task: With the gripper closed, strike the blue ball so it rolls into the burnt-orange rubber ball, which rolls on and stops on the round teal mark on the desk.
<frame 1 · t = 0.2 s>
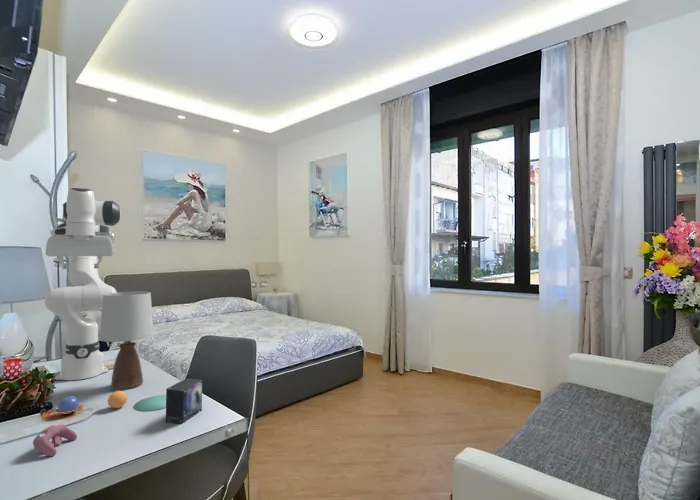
hand: (80, 268, 137), 47 cm above the table, tool pointing down, fingers open, 8 cm apart
lamp: (127, 385, 149), on the table
video game controller: (55, 449, 100), on the table
blue ball: (68, 405, 122), on the table
object ball: (117, 399, 127), on the table
small box: (184, 416, 120), on the table
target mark: (156, 402, 131), on the table
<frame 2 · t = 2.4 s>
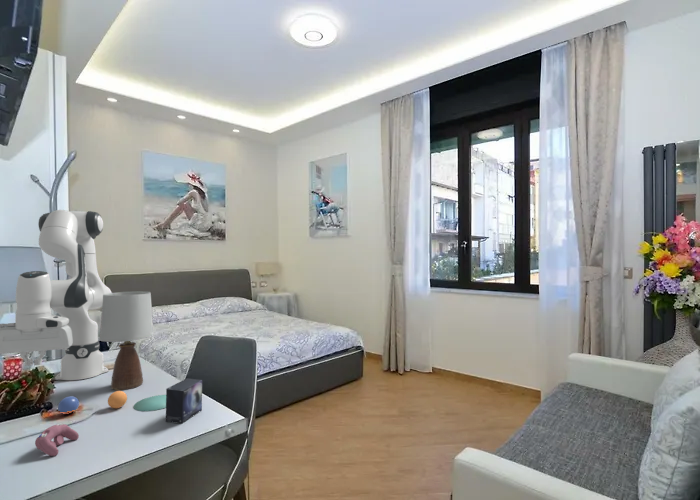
hand: (33, 364, 119), 17 cm above the table, tool pointing down, fingers closed
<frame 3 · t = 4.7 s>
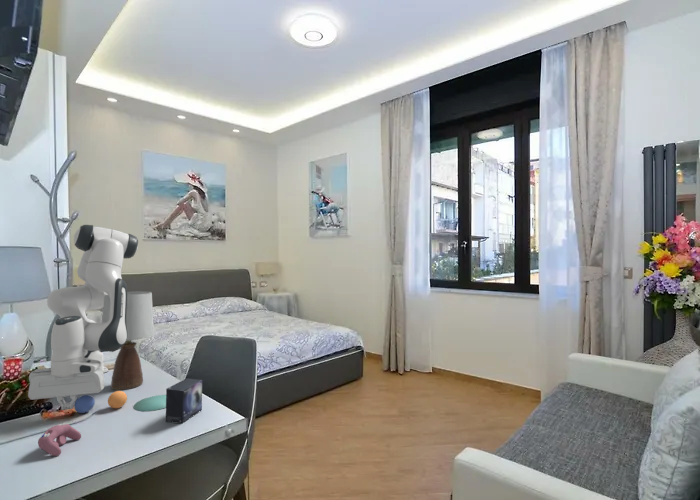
hand: (67, 408, 122), 2 cm above the table, tool pointing down, fingers closed
blue ball: (84, 403, 123), on the table
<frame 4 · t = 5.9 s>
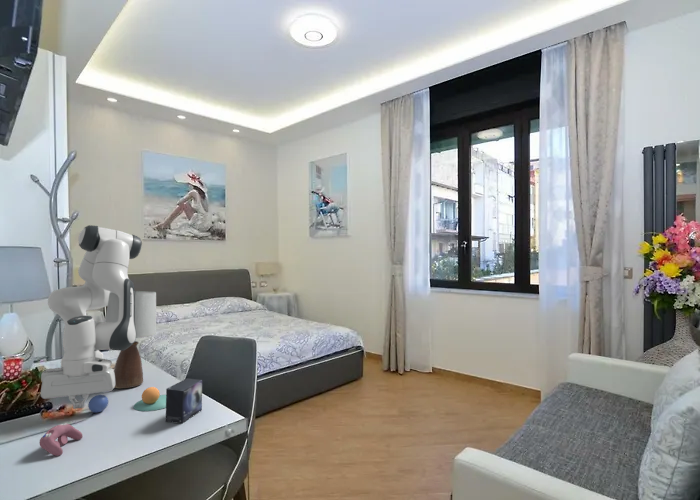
hand: (79, 407, 123), 2 cm above the table, tool pointing down, fingers closed
lamp: (127, 384, 149), on the table, touching arm
blue ball: (98, 403, 124), on the table
object ball: (150, 395, 130), on the table
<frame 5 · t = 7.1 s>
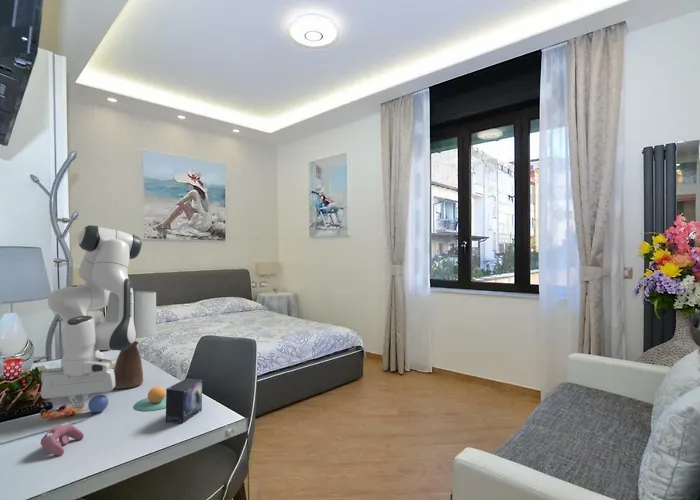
hand: (79, 407, 123), 2 cm above the table, tool pointing down, fingers closed
object ball: (156, 394, 131), on the table
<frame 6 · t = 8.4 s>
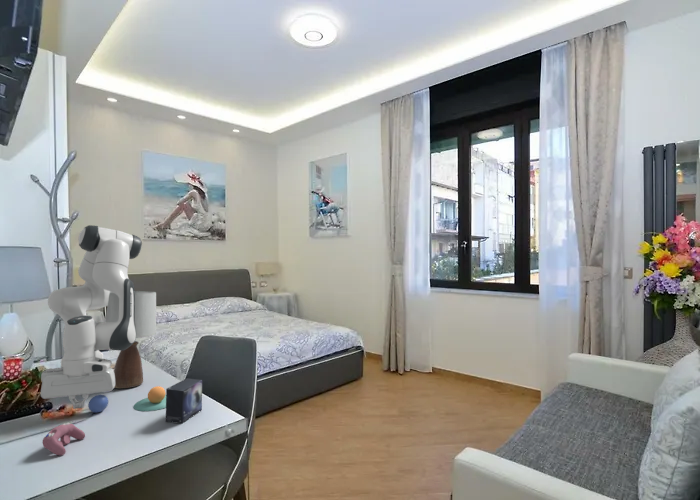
hand: (79, 407, 123), 2 cm above the table, tool pointing down, fingers closed
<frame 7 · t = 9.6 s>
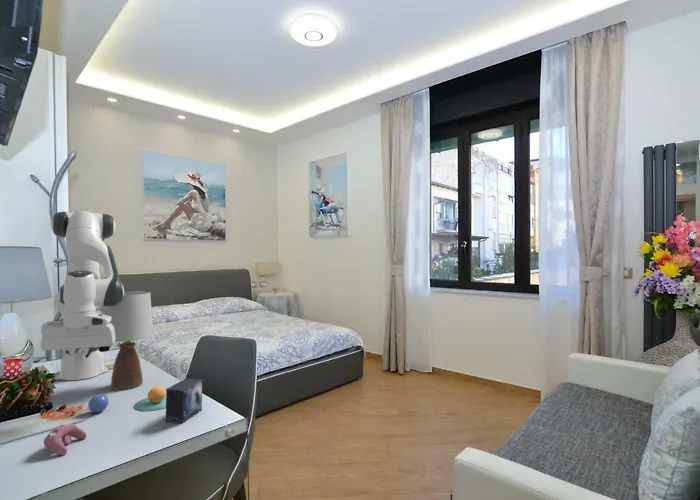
hand: (79, 361, 123), 17 cm above the table, tool pointing down, fingers closed
lamp: (126, 385, 149), on the table
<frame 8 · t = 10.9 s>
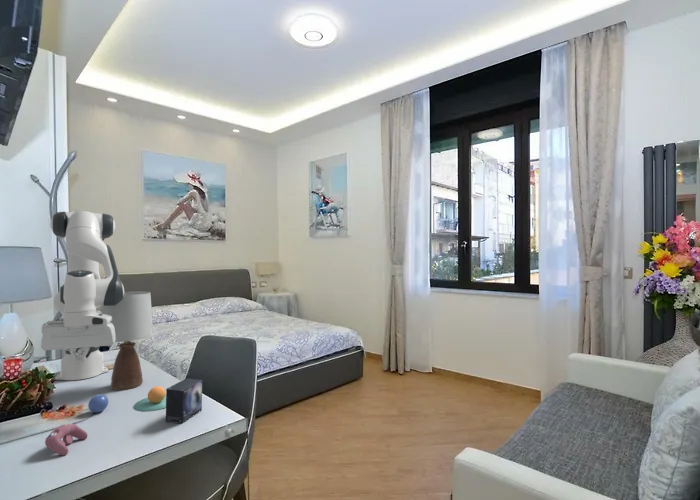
hand: (79, 361, 123), 17 cm above the table, tool pointing down, fingers closed
at the end: object ball 0.2 cm from the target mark (horizontally); object ball never touched the robot; blue ball first touched object ball at 4.8 s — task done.
